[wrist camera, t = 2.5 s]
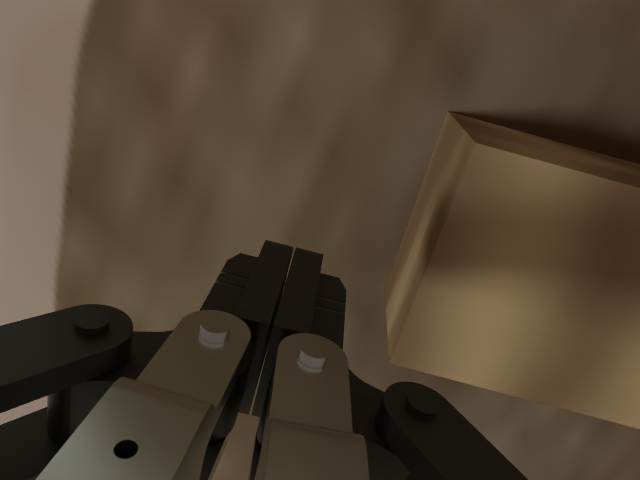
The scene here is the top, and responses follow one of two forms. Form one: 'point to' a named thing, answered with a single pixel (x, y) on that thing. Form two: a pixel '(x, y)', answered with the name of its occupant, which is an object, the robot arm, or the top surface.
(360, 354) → the top surface
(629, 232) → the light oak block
